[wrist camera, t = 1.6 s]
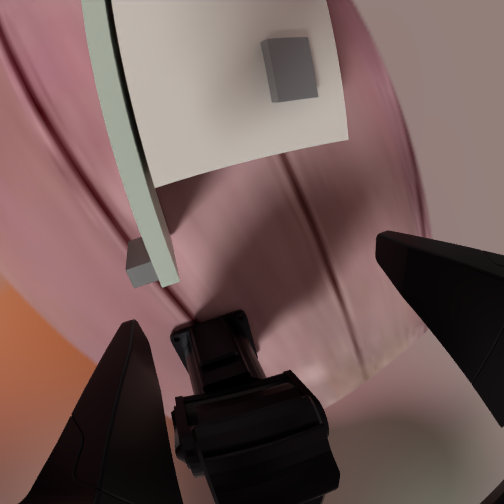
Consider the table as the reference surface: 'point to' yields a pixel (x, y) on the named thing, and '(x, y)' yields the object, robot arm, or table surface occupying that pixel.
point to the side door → (128, 151)
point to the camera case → (229, 80)
